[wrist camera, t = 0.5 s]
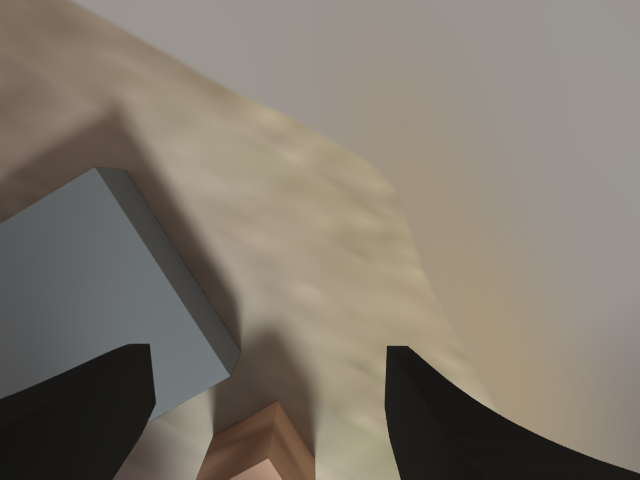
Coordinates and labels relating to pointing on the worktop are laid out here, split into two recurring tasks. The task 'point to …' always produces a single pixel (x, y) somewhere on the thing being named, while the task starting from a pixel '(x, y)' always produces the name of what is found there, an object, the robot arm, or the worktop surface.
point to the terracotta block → (259, 450)
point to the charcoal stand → (103, 292)
